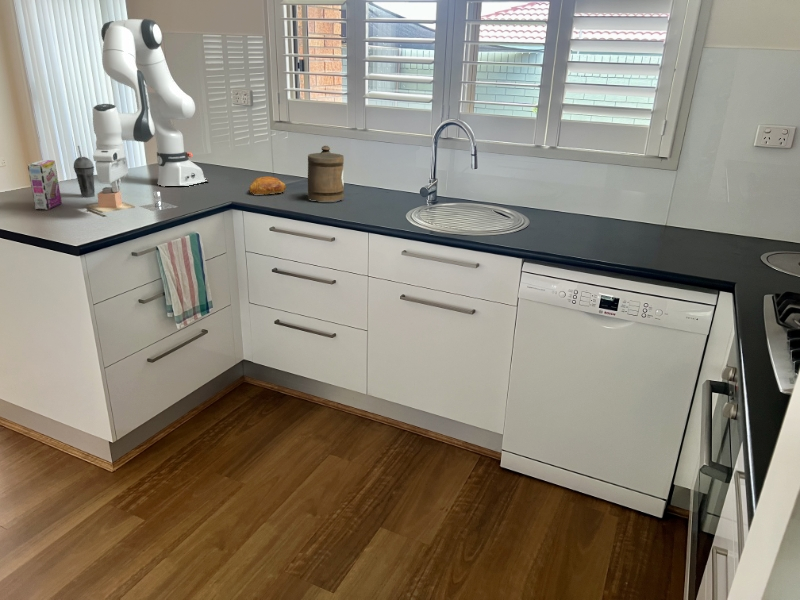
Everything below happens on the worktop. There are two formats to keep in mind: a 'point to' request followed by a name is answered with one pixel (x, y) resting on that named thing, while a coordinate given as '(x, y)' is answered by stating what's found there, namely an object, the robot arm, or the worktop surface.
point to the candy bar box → (44, 184)
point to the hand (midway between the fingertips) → (116, 191)
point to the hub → (103, 210)
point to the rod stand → (157, 203)
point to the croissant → (267, 185)
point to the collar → (109, 199)
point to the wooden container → (325, 176)
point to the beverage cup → (85, 175)
